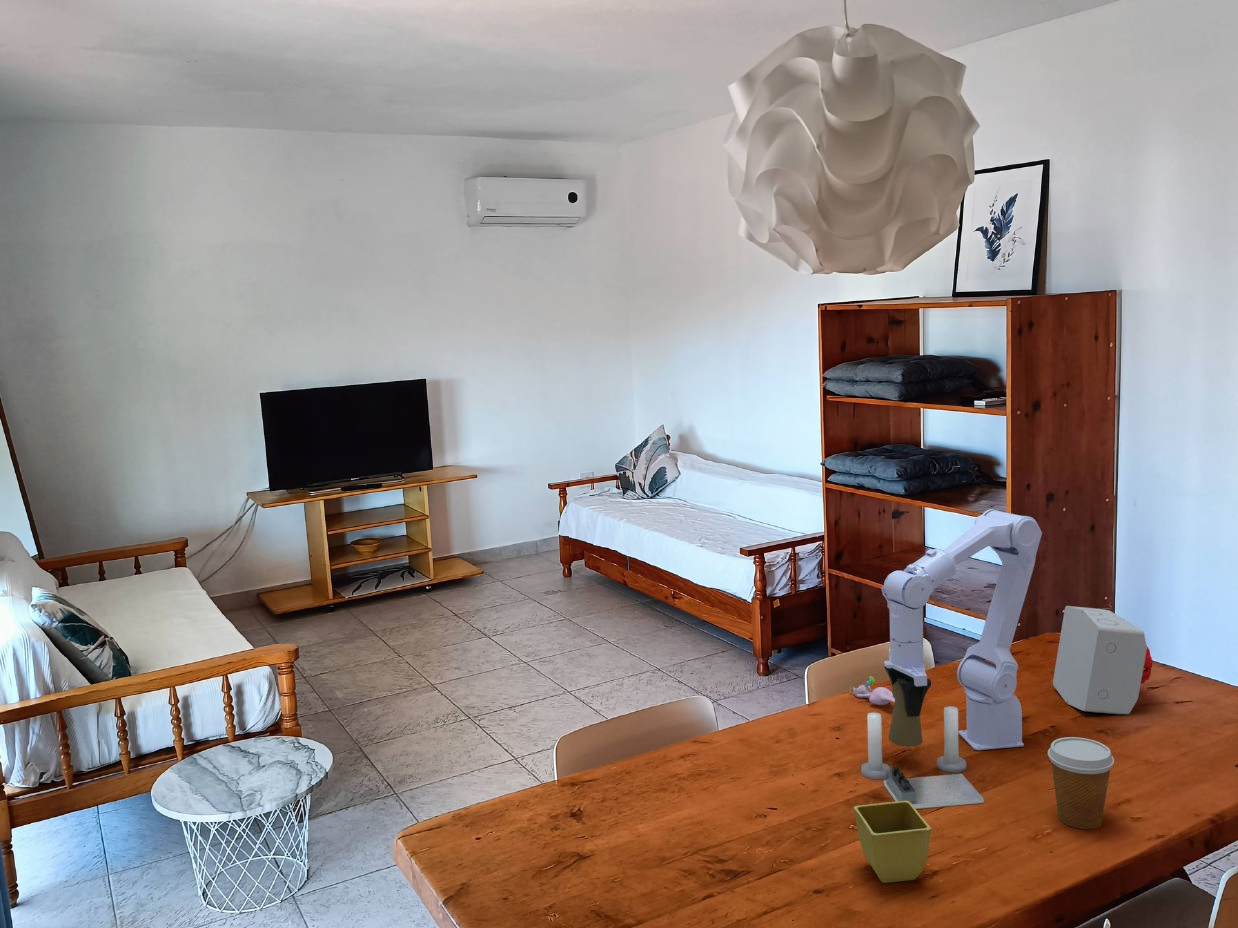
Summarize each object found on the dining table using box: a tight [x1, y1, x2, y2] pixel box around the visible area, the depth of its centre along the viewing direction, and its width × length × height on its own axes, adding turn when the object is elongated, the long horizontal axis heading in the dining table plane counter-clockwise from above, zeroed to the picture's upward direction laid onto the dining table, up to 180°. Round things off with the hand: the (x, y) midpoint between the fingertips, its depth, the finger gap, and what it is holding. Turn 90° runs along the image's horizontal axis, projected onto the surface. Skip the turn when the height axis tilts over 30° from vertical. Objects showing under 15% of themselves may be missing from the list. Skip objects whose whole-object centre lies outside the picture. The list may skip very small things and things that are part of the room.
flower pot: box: [853, 801, 932, 884], centre depth 144 cm, size 9×9×9 cm
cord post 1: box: [860, 712, 891, 781], centre depth 174 cm, size 5×5×11 cm
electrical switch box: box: [1052, 605, 1153, 715], centre depth 198 cm, size 15×15×20 cm
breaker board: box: [883, 765, 984, 810], centre depth 166 cm, size 14×9×4 cm, turn 93°
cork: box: [888, 682, 924, 748], centre depth 177 cm, size 6×6×11 cm
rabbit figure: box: [849, 675, 895, 706], centre depth 205 cm, size 6×6×15 cm
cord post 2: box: [936, 705, 967, 774], centre depth 175 cm, size 5×5×11 cm
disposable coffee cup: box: [1047, 736, 1115, 830], centre depth 155 cm, size 10×10×12 cm
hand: (907, 709), depth 176 cm, fingers closed on cork, 5 cm apart
